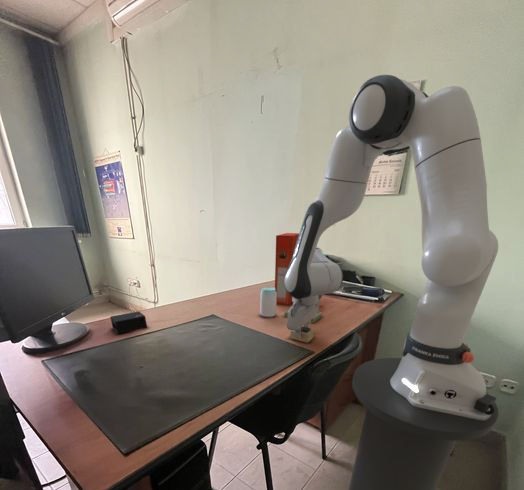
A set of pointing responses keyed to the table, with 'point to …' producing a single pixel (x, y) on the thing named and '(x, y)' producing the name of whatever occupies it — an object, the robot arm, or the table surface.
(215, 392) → the table surface
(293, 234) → the file binder
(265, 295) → the can
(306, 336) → the cream rectangular box
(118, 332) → the electronic device
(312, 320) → the tray
